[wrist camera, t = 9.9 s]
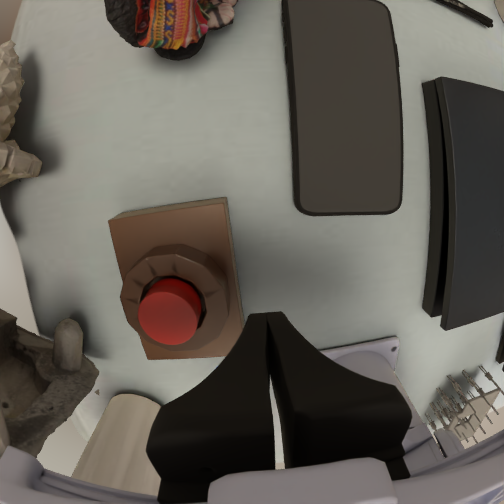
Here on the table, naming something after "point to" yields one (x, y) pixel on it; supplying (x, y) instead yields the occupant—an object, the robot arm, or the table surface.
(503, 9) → the cup
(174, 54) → the figurine
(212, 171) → the table surface
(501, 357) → the end cap
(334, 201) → the smartphone
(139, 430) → the cup
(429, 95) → the laptop
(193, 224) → the switch block
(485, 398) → the building frame
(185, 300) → the button
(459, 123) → the laptop screen
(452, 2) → the black pen
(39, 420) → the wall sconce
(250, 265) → the table surface
